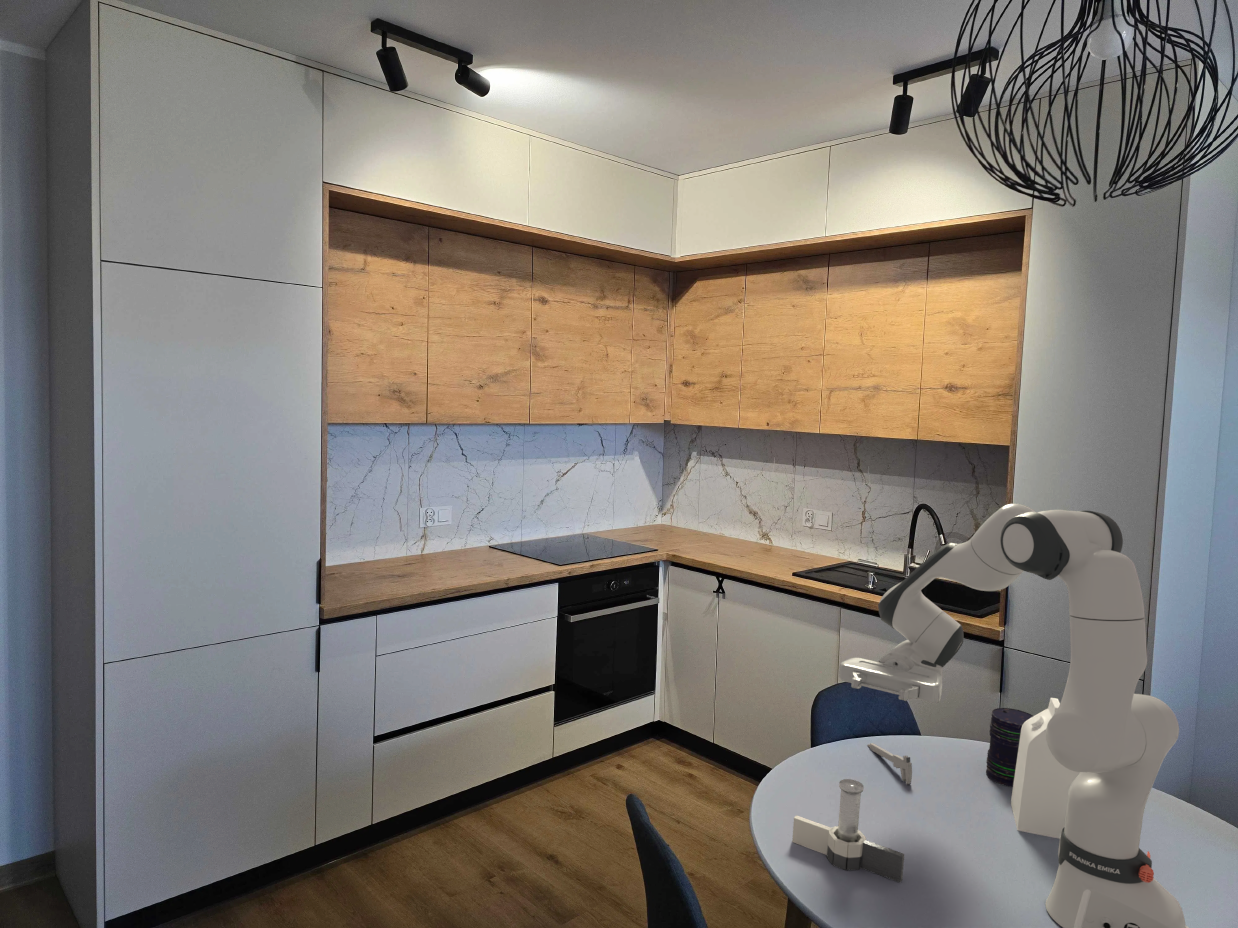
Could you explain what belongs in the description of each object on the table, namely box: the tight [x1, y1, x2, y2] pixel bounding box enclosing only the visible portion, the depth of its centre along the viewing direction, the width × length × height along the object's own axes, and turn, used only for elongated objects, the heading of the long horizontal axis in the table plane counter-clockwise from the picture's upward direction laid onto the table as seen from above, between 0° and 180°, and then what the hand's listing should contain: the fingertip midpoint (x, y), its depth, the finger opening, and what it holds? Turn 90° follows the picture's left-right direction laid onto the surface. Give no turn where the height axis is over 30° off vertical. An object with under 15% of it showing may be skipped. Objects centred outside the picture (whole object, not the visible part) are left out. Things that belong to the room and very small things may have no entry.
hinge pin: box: [837, 778, 865, 843], centre depth 159 cm, size 4×4×15 cm
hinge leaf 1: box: [791, 815, 867, 858], centre depth 161 cm, size 14×6×5 cm, turn 55°
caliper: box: [867, 743, 913, 785], centre depth 200 cm, size 20×1×6 cm, turn 9°
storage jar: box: [985, 707, 1034, 788], centre depth 196 cm, size 10×10×15 cm
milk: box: [1010, 697, 1080, 840], centre depth 176 cm, size 12×12×26 cm
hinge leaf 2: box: [826, 839, 905, 883], centre depth 157 cm, size 14×6×5 cm, turn 55°
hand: (878, 690), depth 166 cm, fingers open, 8 cm apart
